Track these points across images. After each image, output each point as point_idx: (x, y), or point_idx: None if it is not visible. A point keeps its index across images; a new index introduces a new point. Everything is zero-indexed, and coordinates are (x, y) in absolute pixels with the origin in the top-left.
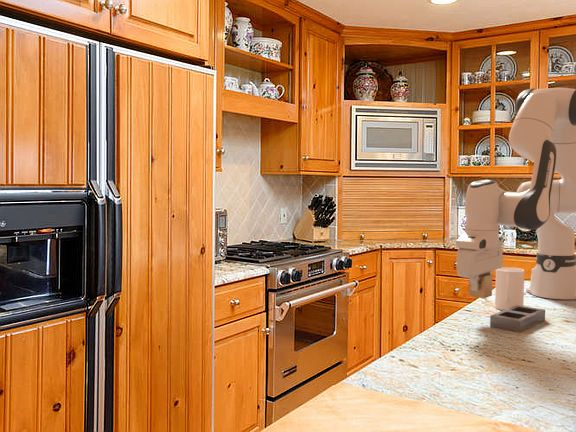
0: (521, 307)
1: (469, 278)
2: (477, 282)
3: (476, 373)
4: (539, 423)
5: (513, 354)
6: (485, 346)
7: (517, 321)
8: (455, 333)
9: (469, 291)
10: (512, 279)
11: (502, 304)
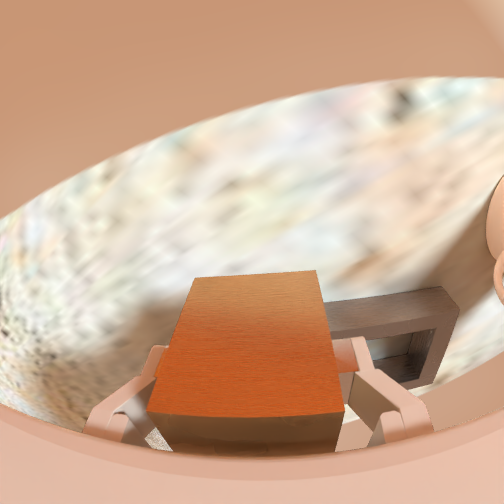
0: (433, 335)
1: (95, 411)
2: (151, 422)
3: (4, 385)
4: None
5: (88, 407)
6: (67, 367)
7: None
8: (58, 280)
9: (188, 301)
10: None
11: (501, 222)
